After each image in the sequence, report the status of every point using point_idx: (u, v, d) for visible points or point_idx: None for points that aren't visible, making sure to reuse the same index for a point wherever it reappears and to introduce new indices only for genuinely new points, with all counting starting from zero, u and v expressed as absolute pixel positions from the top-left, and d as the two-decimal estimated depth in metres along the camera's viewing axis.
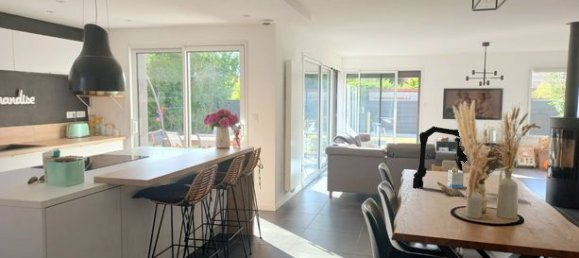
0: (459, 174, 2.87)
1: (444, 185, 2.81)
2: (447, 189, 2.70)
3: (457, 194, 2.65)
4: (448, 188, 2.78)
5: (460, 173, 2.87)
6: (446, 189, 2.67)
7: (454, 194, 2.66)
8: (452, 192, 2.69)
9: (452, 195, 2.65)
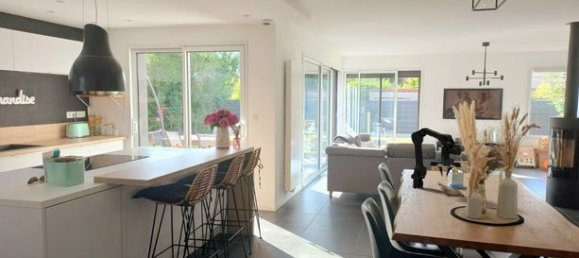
0: (459, 174, 2.87)
1: (444, 185, 2.81)
2: (447, 189, 2.70)
3: (457, 194, 2.65)
4: (448, 188, 2.78)
5: (460, 173, 2.87)
6: (446, 189, 2.67)
7: (454, 194, 2.66)
8: (452, 192, 2.69)
9: (452, 195, 2.65)
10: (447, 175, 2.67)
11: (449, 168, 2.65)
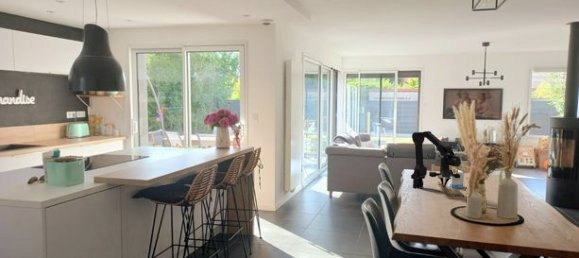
0: None
1: None
2: (447, 189, 2.70)
3: (457, 194, 2.65)
4: (448, 188, 2.78)
5: (460, 173, 2.87)
6: (446, 189, 2.67)
7: (454, 194, 2.66)
8: (452, 192, 2.69)
9: (452, 195, 2.65)
10: (445, 186, 2.68)
11: (447, 179, 2.66)
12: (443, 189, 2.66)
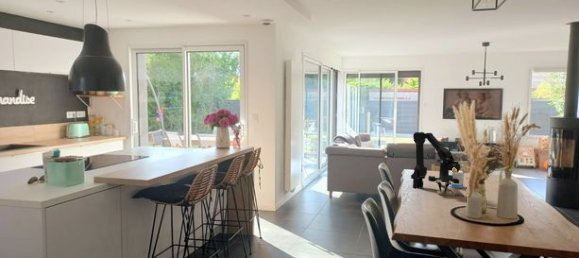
0: (459, 174, 2.87)
1: (444, 185, 2.81)
2: None
3: (457, 194, 2.65)
4: (448, 188, 2.78)
5: (460, 173, 2.87)
6: (444, 193, 2.67)
7: (454, 194, 2.66)
8: (451, 192, 2.70)
9: (452, 195, 2.66)
10: (445, 191, 2.68)
11: (447, 184, 2.66)
12: (441, 194, 2.67)
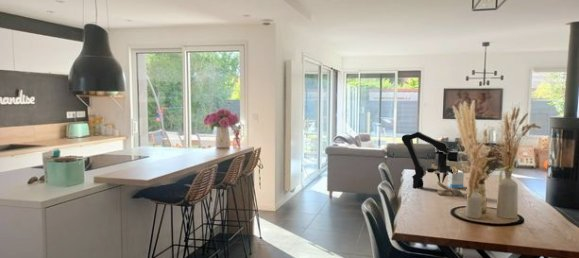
0: (459, 174, 2.87)
1: (444, 185, 2.81)
2: (445, 191, 2.70)
3: (457, 194, 2.65)
4: (448, 188, 2.78)
5: (460, 173, 2.87)
6: (444, 192, 2.67)
7: (454, 194, 2.66)
8: (451, 192, 2.70)
9: (452, 195, 2.66)
10: (443, 181, 2.79)
11: (445, 174, 2.77)
12: (441, 194, 2.67)
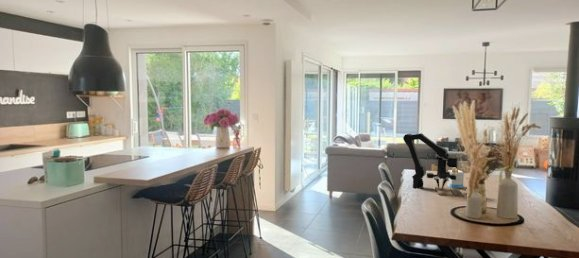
0: (459, 174, 2.87)
1: None
2: (445, 191, 2.70)
3: (457, 194, 2.65)
4: (447, 189, 2.78)
5: (460, 173, 2.87)
6: (444, 192, 2.67)
7: (454, 194, 2.66)
8: (451, 192, 2.70)
9: (452, 195, 2.66)
10: None
11: (445, 180, 2.77)
12: (441, 194, 2.67)
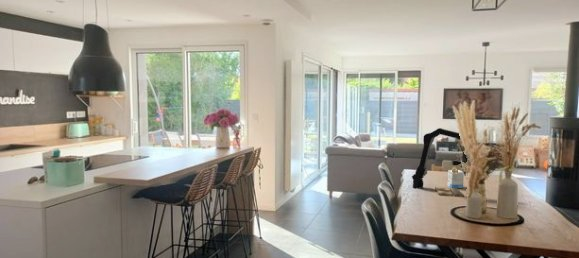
0: (459, 174, 2.87)
1: (442, 188, 2.82)
2: (445, 191, 2.70)
3: (457, 194, 2.65)
4: (447, 189, 2.78)
5: (460, 173, 2.87)
6: (444, 192, 2.67)
7: (454, 194, 2.66)
8: (451, 192, 2.70)
9: (452, 195, 2.66)
10: None
11: None
12: (441, 194, 2.67)
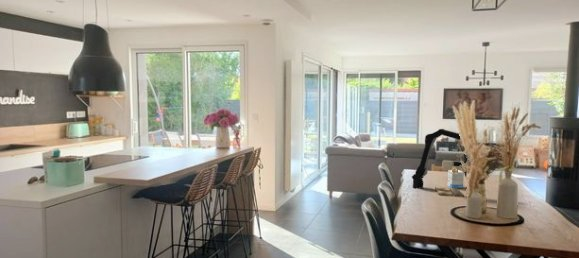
0: (459, 174, 2.87)
1: (442, 188, 2.82)
2: (445, 191, 2.70)
3: (457, 194, 2.65)
4: (447, 189, 2.78)
5: (460, 173, 2.87)
6: (444, 192, 2.67)
7: (454, 194, 2.66)
8: (451, 192, 2.70)
9: (452, 195, 2.66)
10: None
11: None
12: (441, 194, 2.67)
